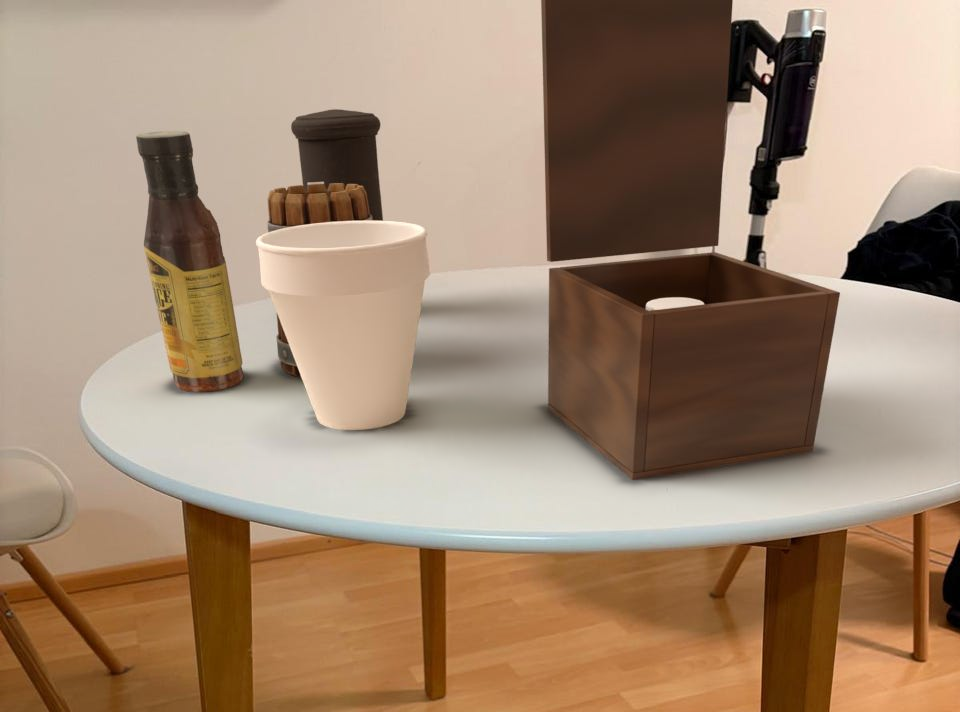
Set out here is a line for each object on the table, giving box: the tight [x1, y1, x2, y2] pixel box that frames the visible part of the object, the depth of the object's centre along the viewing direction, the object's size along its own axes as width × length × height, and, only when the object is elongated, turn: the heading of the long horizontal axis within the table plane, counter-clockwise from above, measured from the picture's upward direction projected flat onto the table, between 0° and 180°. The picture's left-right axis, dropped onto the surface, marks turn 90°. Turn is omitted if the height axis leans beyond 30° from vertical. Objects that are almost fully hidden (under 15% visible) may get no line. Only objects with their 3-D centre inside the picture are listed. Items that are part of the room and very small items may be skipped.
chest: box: [547, 251, 841, 481], centre depth 65 cm, size 16×14×11 cm
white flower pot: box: [255, 220, 431, 431], centre depth 69 cm, size 12×12×14 cm
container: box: [290, 108, 384, 221], centre depth 97 cm, size 9×9×20 cm
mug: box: [266, 182, 373, 377], centre depth 83 cm, size 16×11×15 cm
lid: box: [540, 0, 734, 263], centre depth 64 cm, size 16×14×1 cm
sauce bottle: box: [135, 130, 244, 393], centre depth 76 cm, size 7×6×20 cm
